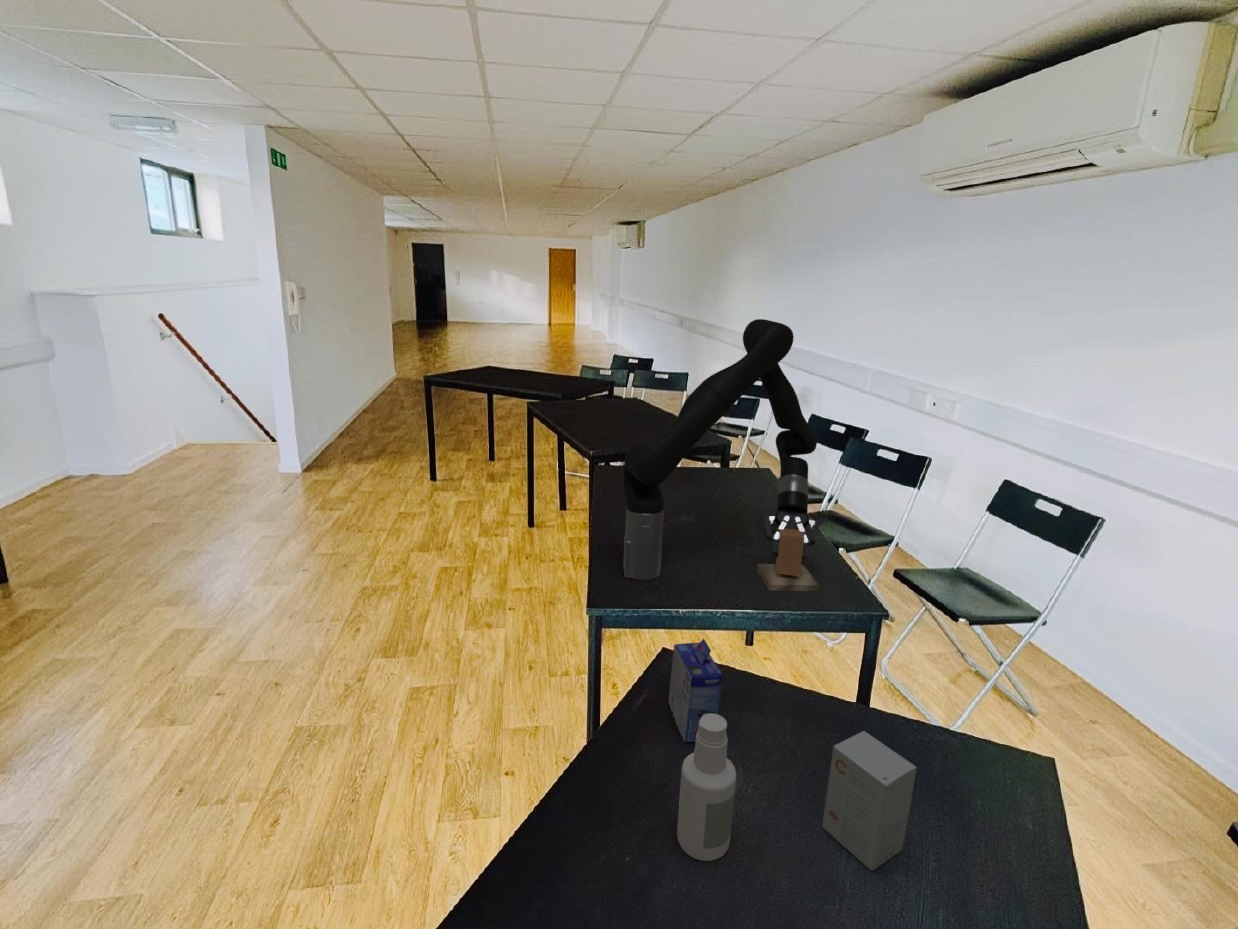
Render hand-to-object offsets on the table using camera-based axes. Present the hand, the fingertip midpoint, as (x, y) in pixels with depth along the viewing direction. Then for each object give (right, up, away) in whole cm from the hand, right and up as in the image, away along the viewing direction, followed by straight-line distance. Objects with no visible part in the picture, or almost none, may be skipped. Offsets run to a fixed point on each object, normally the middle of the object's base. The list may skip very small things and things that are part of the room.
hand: (789, 557), depth 155 cm
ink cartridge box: (-30, -20, -50) cm, 61 cm away
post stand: (0, -6, +3) cm, 7 cm away
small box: (-10, -27, -71) cm, 77 cm away
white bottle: (-31, -26, -72) cm, 83 cm away
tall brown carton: (0, -4, +3) cm, 5 cm away
